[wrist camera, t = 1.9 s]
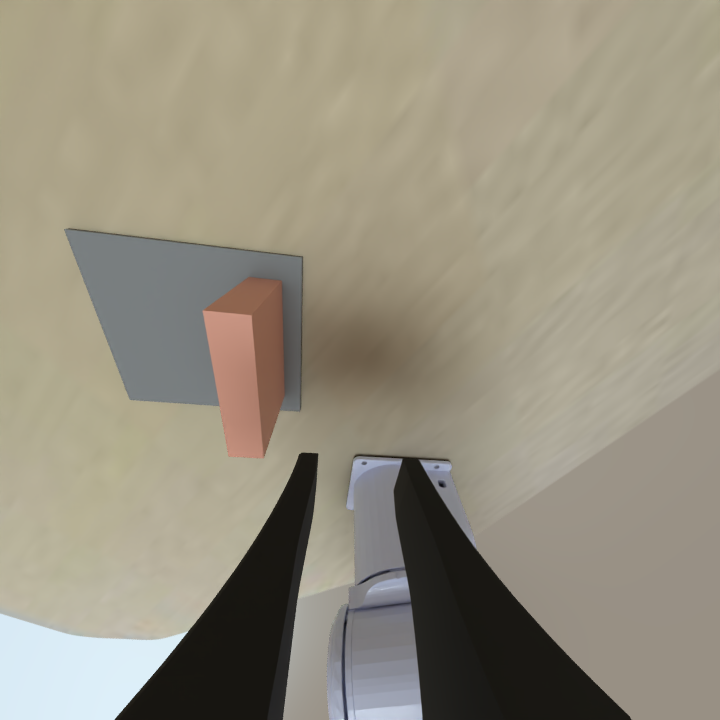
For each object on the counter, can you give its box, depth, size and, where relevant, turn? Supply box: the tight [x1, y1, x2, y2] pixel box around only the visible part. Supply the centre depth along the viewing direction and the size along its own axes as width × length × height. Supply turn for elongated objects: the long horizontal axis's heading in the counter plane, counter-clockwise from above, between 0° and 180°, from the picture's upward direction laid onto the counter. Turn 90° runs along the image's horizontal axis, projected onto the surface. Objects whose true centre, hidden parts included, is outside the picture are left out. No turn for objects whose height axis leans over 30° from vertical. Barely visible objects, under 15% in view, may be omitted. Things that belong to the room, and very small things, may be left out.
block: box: [203, 277, 285, 458], centre depth 16 cm, size 2×9×6 cm, turn 173°
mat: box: [64, 229, 303, 411], centre depth 19 cm, size 13×12×1 cm
